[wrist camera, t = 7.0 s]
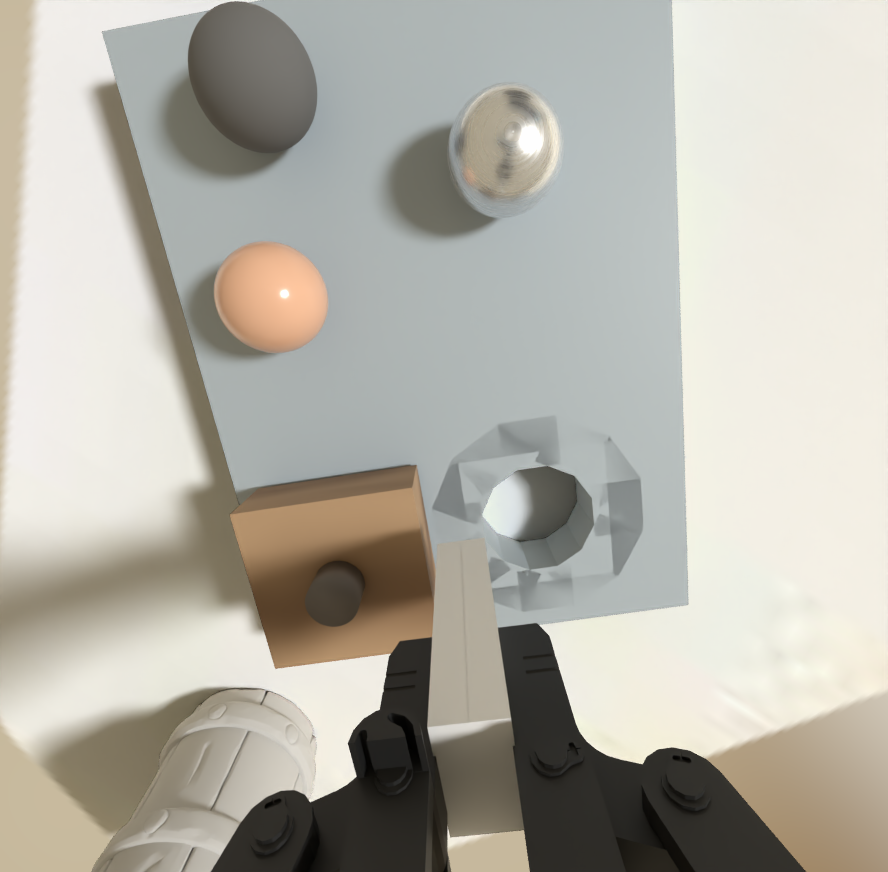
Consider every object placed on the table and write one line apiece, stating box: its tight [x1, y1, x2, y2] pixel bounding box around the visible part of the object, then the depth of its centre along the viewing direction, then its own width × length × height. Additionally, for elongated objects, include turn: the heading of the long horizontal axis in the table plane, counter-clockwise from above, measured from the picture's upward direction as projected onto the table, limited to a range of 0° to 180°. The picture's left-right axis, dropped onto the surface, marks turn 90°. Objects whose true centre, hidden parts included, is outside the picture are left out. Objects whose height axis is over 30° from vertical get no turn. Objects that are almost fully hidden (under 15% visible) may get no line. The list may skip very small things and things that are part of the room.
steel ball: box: [447, 82, 564, 218], centre depth 14 cm, size 4×4×4 cm
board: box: [102, 0, 688, 628], centre depth 18 cm, size 24×18×2 cm
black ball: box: [188, 1, 317, 153], centre depth 13 cm, size 4×4×4 cm
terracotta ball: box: [214, 241, 328, 353], centre depth 15 cm, size 4×4×4 cm
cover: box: [230, 465, 436, 669], centre depth 17 cm, size 6×6×4 cm
